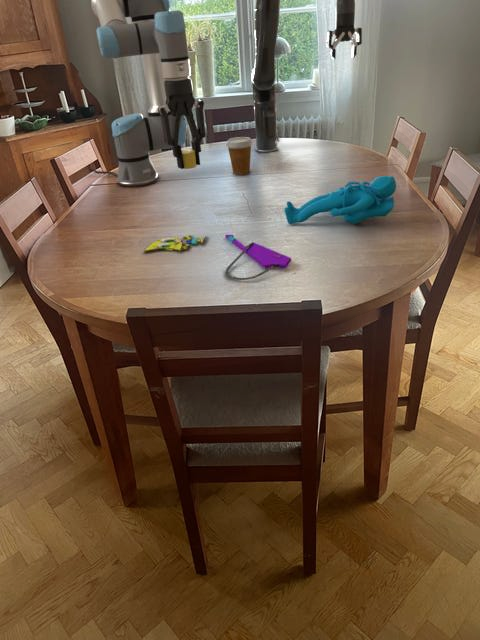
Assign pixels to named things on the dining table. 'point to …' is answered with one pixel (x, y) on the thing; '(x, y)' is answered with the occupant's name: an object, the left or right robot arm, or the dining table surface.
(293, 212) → the toy
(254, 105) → the right robot arm
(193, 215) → the dining table surface
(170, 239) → the toy
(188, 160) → the canister
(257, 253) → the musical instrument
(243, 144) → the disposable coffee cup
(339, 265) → the dining table surface
